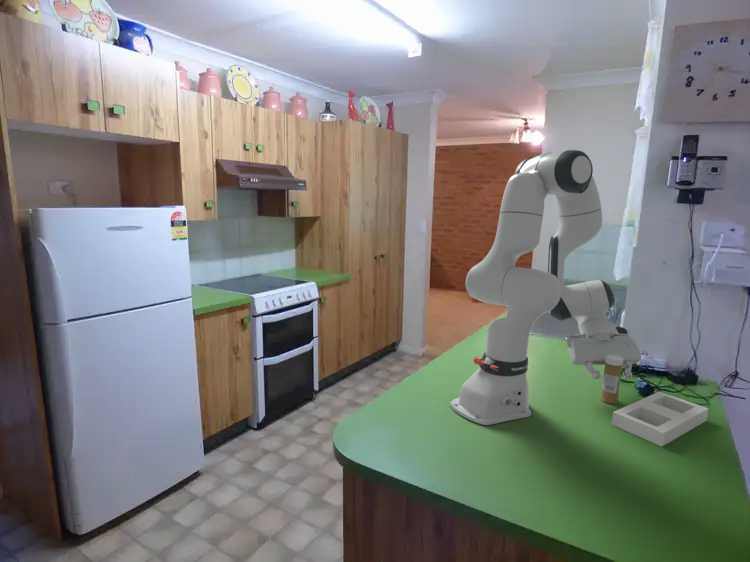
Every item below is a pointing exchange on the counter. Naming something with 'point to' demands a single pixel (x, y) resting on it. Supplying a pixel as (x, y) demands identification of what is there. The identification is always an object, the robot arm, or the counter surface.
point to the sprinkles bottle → (611, 379)
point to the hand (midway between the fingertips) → (613, 377)
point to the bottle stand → (659, 418)
